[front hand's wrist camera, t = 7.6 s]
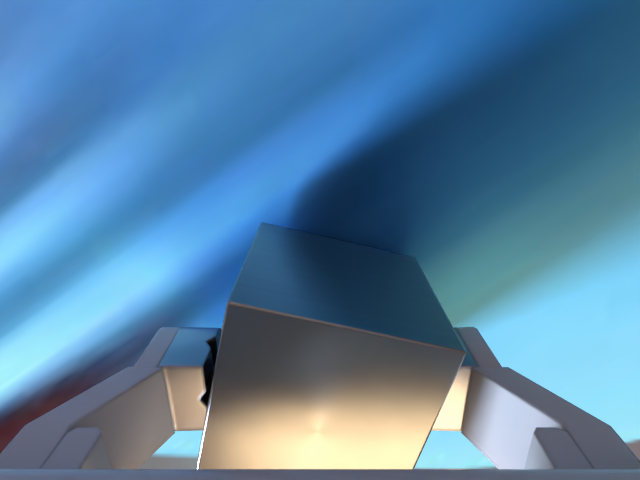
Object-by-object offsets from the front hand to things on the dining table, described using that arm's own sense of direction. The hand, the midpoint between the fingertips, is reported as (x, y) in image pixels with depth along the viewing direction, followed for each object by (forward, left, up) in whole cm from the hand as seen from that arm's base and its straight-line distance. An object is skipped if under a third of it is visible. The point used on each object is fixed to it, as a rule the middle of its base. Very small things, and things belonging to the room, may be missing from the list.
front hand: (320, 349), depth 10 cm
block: (0, 0, -2) cm, 2 cm away
